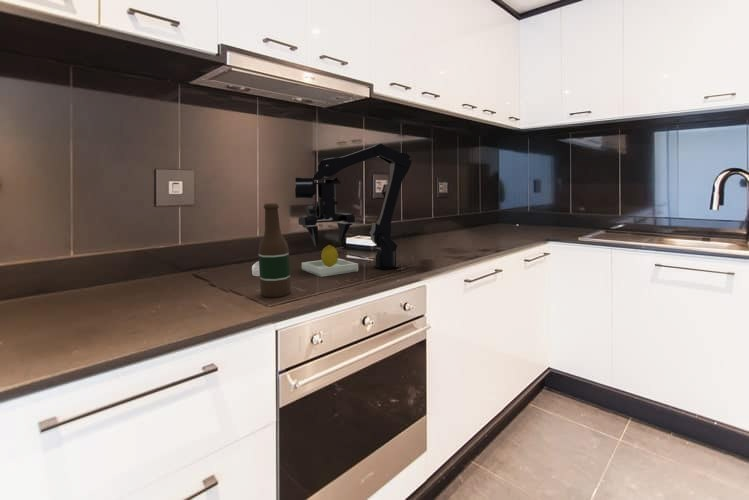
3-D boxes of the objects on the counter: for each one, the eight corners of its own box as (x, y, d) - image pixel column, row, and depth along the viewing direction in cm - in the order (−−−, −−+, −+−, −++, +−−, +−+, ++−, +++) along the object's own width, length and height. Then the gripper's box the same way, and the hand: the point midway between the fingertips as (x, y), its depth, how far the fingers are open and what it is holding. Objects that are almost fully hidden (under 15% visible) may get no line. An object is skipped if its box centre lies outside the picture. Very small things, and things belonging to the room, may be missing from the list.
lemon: (339, 266, 140) (339, 243, 139) (336, 269, 135) (335, 245, 133) (323, 266, 141) (323, 243, 139) (319, 269, 135) (319, 245, 134)
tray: (337, 264, 147) (337, 258, 147) (358, 271, 136) (358, 263, 136) (301, 269, 139) (301, 262, 139) (320, 276, 128) (320, 269, 128)
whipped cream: (278, 277, 133) (279, 262, 133) (259, 279, 129) (260, 263, 128) (265, 272, 139) (265, 258, 138) (246, 273, 134) (247, 259, 133)
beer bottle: (276, 299, 103) (270, 204, 99) (254, 295, 107) (248, 204, 103) (297, 292, 110) (292, 202, 106) (276, 288, 114) (271, 202, 110)
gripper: (339, 197, 146) (340, 240, 148) (290, 198, 135) (292, 245, 138) (355, 197, 137) (356, 243, 139) (305, 199, 126) (306, 248, 129)
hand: (328, 245), depth 136 cm, fingers open, 9 cm apart
